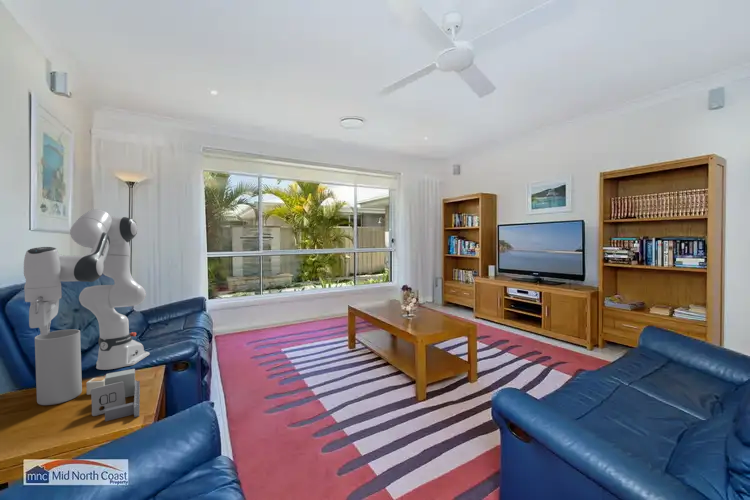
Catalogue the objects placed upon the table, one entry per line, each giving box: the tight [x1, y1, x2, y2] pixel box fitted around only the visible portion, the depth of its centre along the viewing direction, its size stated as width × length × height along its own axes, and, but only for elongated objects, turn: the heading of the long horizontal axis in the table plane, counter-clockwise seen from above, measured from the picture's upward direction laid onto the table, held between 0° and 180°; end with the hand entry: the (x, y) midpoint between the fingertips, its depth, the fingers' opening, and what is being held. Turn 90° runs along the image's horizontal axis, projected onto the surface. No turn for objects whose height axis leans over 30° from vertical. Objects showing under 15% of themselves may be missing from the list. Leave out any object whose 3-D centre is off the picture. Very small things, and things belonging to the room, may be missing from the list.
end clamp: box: [104, 401, 134, 422], centre depth 113 cm, size 2×8×4 cm, turn 126°
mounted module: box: [104, 368, 136, 398], centre depth 127 cm, size 5×9×9 cm, turn 126°
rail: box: [133, 379, 141, 418], centre depth 123 cm, size 24×2×4 cm, turn 36°
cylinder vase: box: [34, 329, 83, 406], centre depth 125 cm, size 12×12×25 cm
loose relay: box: [85, 376, 106, 396], centre depth 131 cm, size 4×6×5 cm, turn 101°
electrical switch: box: [90, 382, 126, 417], centre depth 118 cm, size 9×5×9 cm, turn 134°
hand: (45, 334), depth 112 cm, fingers closed
